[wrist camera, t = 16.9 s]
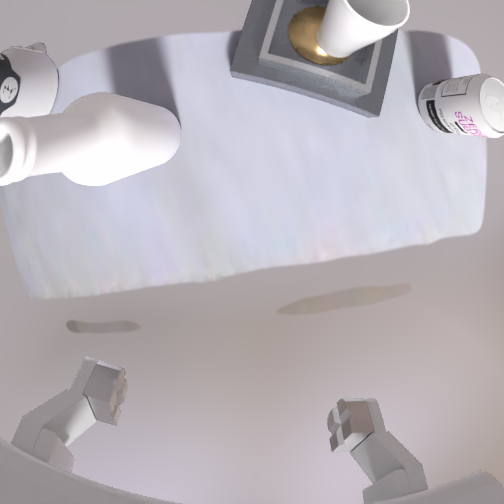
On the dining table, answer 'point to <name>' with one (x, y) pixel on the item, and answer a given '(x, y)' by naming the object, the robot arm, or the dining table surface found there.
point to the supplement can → (464, 106)
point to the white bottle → (89, 140)
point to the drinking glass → (359, 24)
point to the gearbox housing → (310, 57)
